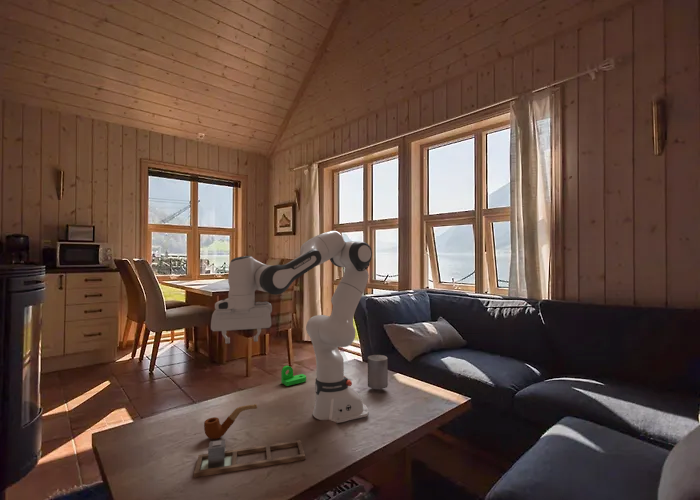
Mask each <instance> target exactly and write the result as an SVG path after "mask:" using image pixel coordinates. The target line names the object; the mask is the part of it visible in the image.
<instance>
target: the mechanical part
mask: <svg viewBox="0 0 700 500" xmlns="http://www.w3.org/2000/svg"><path fill="white" fill-rule="evenodd" d="M280 371H281V372H280V373H281V374H280V375H281V377H280V379H281V381H280V382H281V384H283V385H284V386H286V387H289V386H292V385H293V386H294V385H298V384H302V383H305V382H306V381H307V375H306V374H303V373H300V374H297V375H296V374H295V375H294V369H293V367H292V366H289V365H284V366H283V367H282V368H281V370H280ZM287 371H288V372H287Z"/></svg>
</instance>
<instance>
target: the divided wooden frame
mask: <svg viewBox="0 0 700 500" xmlns="http://www.w3.org/2000/svg"><path fill="white" fill-rule="evenodd" d="M302 443H303V442H302V440H301V439H299V440H294V441H293V440H292V441H286V442H279V443H271V444H265V445H258V446H257V445H256V446H251V447H245V448H237V449H231V450H225V466H223V467H217V468H210V469H208V453H205V454H199V455H198V456H197V460H196V463H195V468H194V472H193V478H200V477H206V476H212V475H219V474H220V475H221V474H225V473H231V472H232V473H233V472H238V471H243V470H248V469H256V468H262V467H269V466H274V465H281V464H285V463H286V464H287V463H293V462H299V461H304V460H306V454H305V451H304V447H303V444H302ZM295 447H297V449H298V452H299V454H295V455H289V456H283V457H282V456H281V457H277V458H276V457H275V458H272V456H271V455H272V454H271V451H273V450H280V449H287V448H295ZM261 452H265V456H266V459H263V460H257V461H250V462H243V463H237V459H238V458H237V457H238V455H239V456H240V455H246V454H253V453H261Z"/></svg>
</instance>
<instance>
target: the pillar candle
mask: <svg viewBox="0 0 700 500" xmlns="http://www.w3.org/2000/svg"><path fill="white" fill-rule="evenodd" d="M388 373H389V370H388V357H387V356H386V355H383V354H373V355H371V354H370V355H368V356H367V387H368V388H370V389H373V390H384V389H386V388H388V386H389V384H388V383H389V382H388V379H389V378H388V375H389V374H388Z"/></svg>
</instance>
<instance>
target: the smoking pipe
mask: <svg viewBox="0 0 700 500" xmlns="http://www.w3.org/2000/svg"><path fill="white" fill-rule="evenodd" d="M257 409H258V405H257V403H254V404H247V405H242V406H239V407H237V408H235V409H234V410H233V411H232V412H231V413H230V415H228V416H227V418H226V419H225V420H224V421H223V422H222V424H221V422H220V418H219V417H210V418H207V419H206V420H205V421H204V422H203V423H204V425H203V426H204V427H203V429H204V434H205V436H206V437H207V438H209V439H210V440H218V439H220V438H222V437H223V436H224V435H225V434H226V433H227V431H228V430H230V428H231V426H232V425H233V424H234V423H235V421H236V419H237V418H238V416H239V415H240V414H241V413H243V412H244V411H247V410H248V411H249V410H257Z"/></svg>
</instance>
